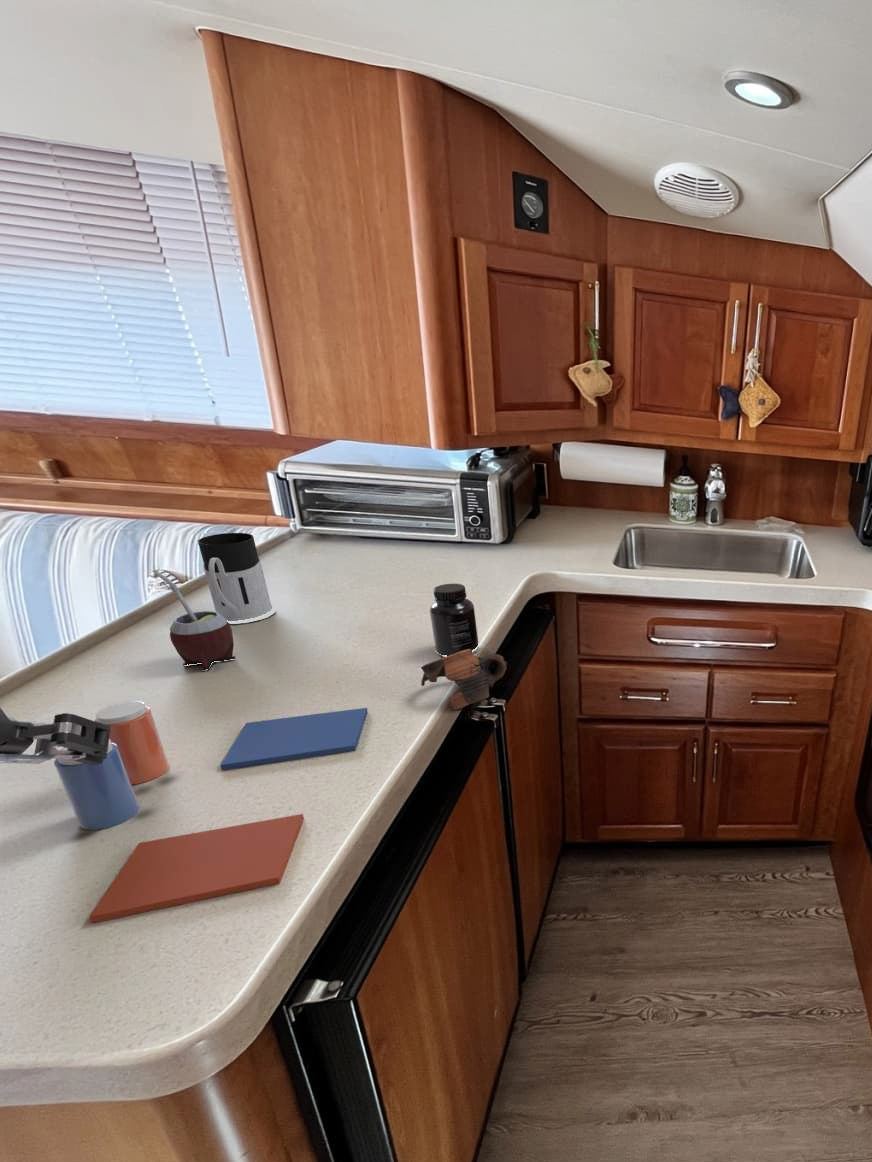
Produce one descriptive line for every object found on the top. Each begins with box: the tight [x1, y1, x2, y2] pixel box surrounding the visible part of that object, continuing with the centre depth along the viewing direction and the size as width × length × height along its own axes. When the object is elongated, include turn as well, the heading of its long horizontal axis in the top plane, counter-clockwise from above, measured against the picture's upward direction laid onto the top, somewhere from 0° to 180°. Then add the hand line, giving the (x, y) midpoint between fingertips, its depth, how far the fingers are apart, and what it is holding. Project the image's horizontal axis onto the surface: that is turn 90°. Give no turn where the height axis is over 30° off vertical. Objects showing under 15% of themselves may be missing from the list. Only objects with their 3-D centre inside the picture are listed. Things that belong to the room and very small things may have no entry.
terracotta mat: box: [89, 813, 305, 924], centre depth 65 cm, size 14×10×1 cm
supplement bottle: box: [429, 583, 479, 656], centre depth 110 cm, size 7×7×12 cm
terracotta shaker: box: [94, 700, 170, 786], centre depth 75 cm, size 5×5×9 cm
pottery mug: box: [420, 649, 508, 711], centre depth 99 cm, size 12×10×8 cm
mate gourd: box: [152, 569, 236, 670], centre depth 99 cm, size 8×8×15 cm
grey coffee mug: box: [197, 532, 273, 621], centre depth 113 cm, size 9×14×15 cm, turn 25°
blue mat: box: [220, 707, 369, 771], centre depth 86 cm, size 14×10×1 cm
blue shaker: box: [53, 739, 140, 831], centre depth 69 cm, size 5×5×9 cm
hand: (39, 762), depth 61 cm, fingers open, 8 cm apart
